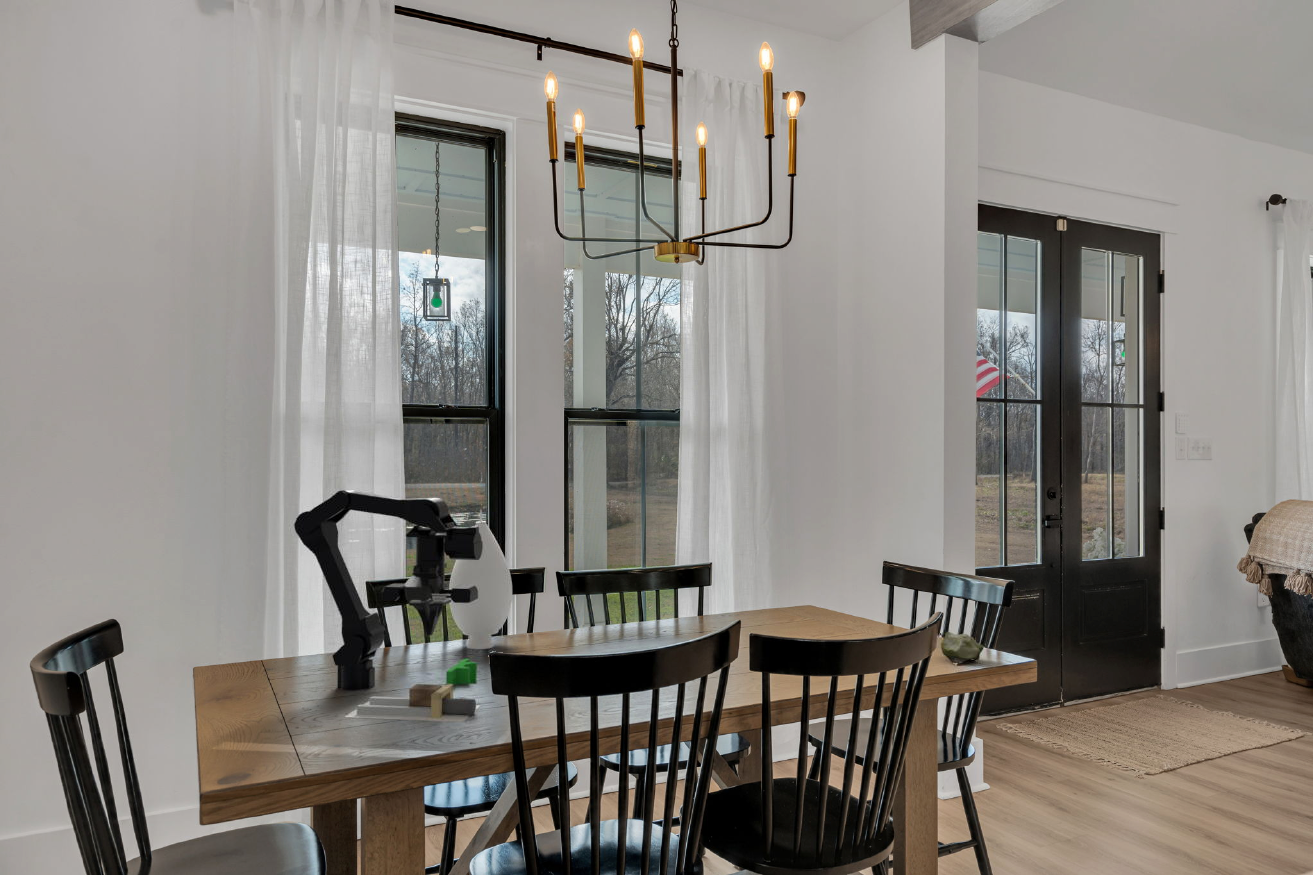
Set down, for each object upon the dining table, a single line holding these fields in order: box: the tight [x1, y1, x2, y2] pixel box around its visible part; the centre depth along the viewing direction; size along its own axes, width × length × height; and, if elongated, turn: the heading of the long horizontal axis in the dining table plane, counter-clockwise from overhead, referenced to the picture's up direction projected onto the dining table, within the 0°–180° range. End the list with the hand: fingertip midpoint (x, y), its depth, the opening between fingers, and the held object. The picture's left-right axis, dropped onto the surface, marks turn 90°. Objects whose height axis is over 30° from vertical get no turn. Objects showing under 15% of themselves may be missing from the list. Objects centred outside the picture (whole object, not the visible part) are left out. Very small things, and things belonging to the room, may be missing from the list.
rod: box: [442, 697, 477, 716], centre depth 161 cm, size 7×3×3 cm, turn 84°
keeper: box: [408, 683, 443, 707], centre depth 162 cm, size 5×3×4 cm
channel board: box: [344, 683, 481, 723], centre depth 163 cm, size 22×10×5 cm, turn 84°
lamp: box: [448, 509, 513, 650], centre depth 221 cm, size 16×16×35 cm
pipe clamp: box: [445, 658, 478, 687], centre depth 184 cm, size 11×4×5 cm, turn 173°
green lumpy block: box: [939, 631, 985, 665], centre depth 208 cm, size 9×9×8 cm
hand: (429, 635), depth 178 cm, fingers closed
